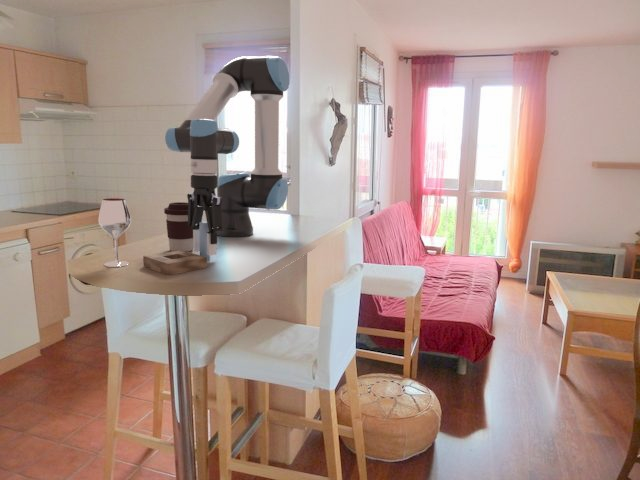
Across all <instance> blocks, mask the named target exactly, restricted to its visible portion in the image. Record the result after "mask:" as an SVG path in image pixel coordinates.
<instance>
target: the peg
mask: <svg viewBox="0 0 640 480" xmlns="http://www.w3.org/2000/svg"><path fill="white" fill-rule="evenodd" d="M207 232H209V229H208V224H207V221H201V222H199V244H200V251H199V255H201V256H204V257H207V261H209V260H211V255H207Z"/></svg>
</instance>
